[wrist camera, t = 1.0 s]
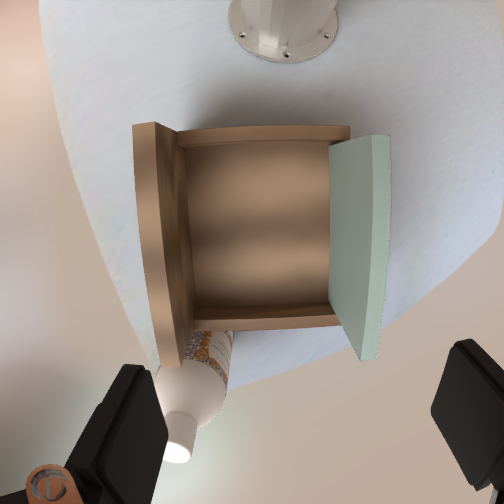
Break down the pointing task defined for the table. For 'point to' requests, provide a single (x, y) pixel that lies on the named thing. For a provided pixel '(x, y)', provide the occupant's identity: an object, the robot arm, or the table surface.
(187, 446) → the bath foam
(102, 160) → the table surface
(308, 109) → the table surface
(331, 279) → the panel
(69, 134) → the table surface
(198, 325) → the tray
